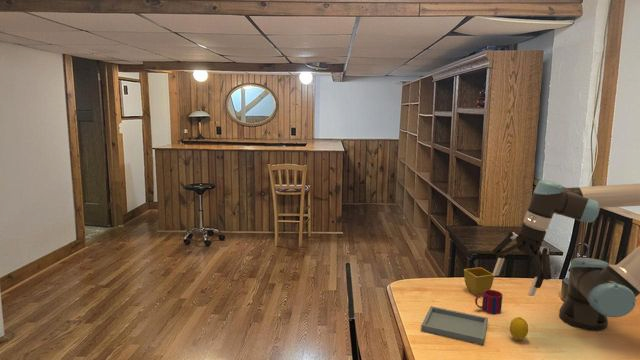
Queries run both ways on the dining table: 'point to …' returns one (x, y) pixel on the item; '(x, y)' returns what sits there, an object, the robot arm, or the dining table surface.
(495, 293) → the mug
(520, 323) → the lemon
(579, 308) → the robot arm
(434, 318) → the tray
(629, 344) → the dining table surface
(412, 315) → the dining table surface
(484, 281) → the flower pot
